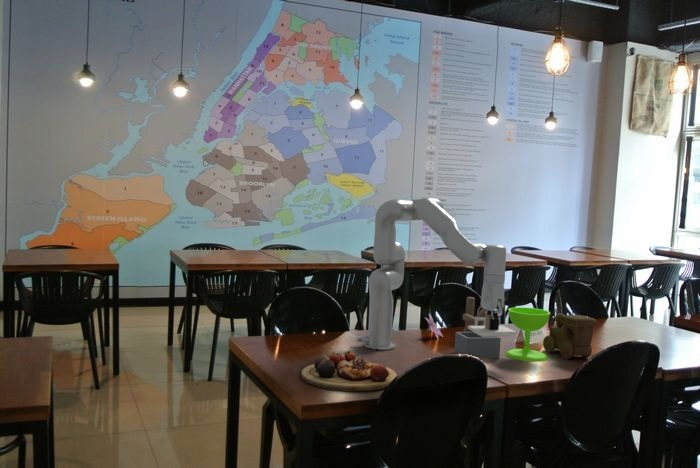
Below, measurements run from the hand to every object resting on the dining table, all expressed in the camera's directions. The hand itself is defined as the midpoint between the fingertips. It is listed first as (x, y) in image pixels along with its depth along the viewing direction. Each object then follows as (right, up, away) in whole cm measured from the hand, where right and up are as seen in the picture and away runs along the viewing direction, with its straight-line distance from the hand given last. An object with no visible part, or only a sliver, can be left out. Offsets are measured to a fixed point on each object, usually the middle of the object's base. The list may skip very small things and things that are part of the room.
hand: (491, 328), depth 232 cm
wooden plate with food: (-52, -14, -22) cm, 58 cm away
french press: (+12, -11, +61) cm, 63 cm away
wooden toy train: (+35, -14, +22) cm, 44 cm away
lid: (0, -2, 0) cm, 2 cm away
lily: (-16, -11, +44) cm, 48 cm away
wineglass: (+18, -14, +18) cm, 29 cm away
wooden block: (+3, -12, +47) cm, 49 cm away
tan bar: (-1, -3, +32) cm, 32 cm away
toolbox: (-3, -13, +18) cm, 22 cm away
